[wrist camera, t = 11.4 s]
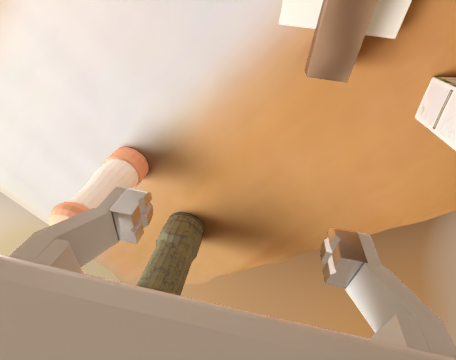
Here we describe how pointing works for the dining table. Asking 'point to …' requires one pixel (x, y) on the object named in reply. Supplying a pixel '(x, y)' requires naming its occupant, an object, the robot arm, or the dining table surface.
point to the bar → (338, 38)
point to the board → (379, 26)
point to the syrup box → (440, 109)
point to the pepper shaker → (104, 183)
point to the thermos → (173, 254)
